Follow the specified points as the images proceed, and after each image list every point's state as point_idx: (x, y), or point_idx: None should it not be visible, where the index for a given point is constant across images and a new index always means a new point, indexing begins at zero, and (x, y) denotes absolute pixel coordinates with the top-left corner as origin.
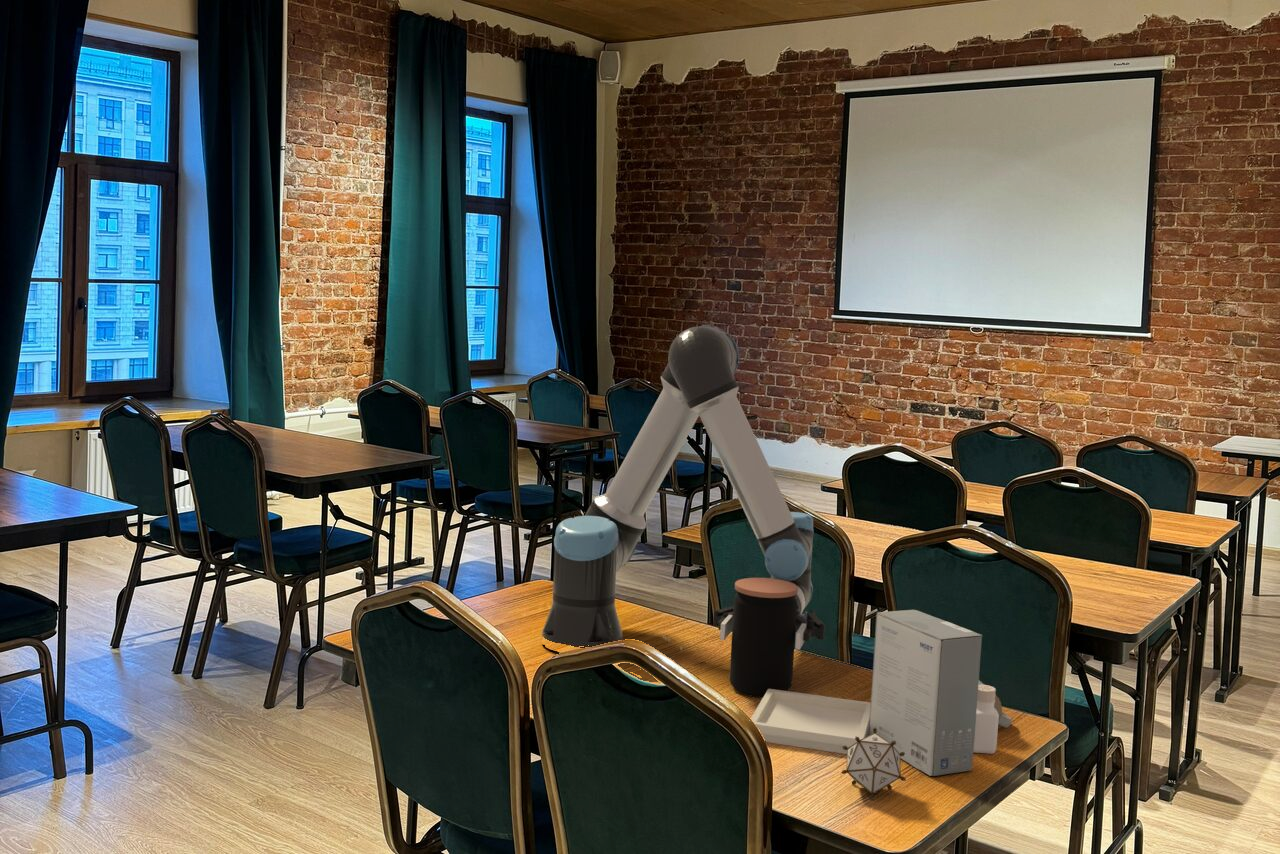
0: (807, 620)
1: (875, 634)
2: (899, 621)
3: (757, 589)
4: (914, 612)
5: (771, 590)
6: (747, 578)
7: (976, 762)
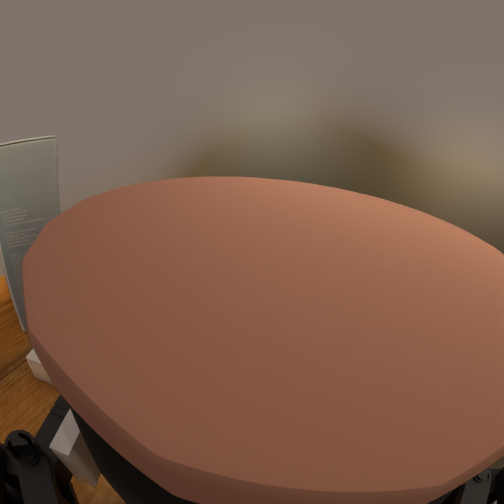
0: (36, 444)
1: (57, 170)
2: (54, 135)
3: (320, 190)
4: (3, 143)
5: (251, 183)
6: None
7: (6, 286)
